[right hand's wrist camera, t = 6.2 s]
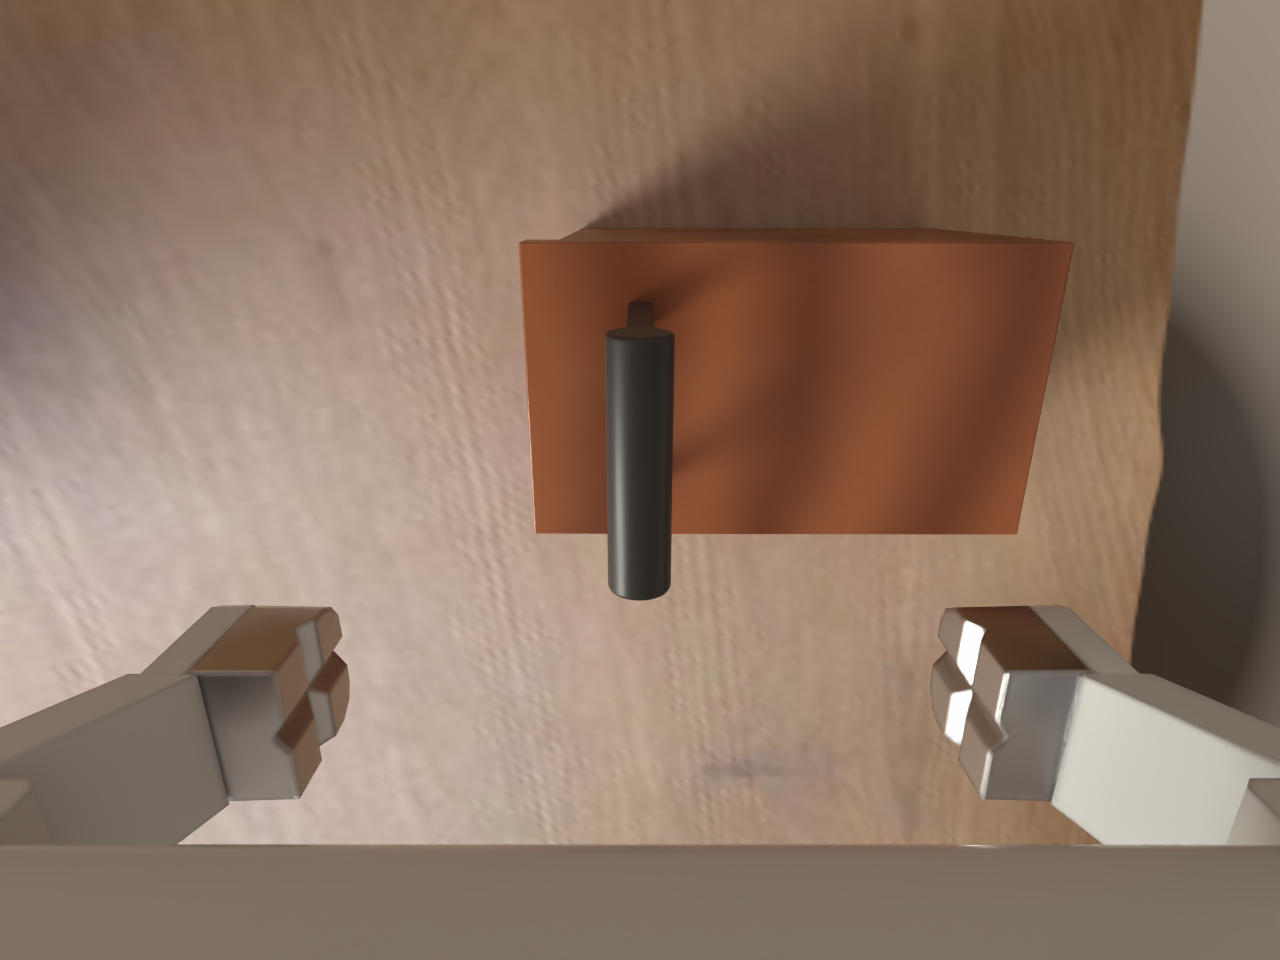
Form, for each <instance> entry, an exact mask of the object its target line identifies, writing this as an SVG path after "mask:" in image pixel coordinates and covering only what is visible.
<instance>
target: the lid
mask: <svg viewBox="0 0 1280 960" xmlns="http://www.w3.org/2000/svg"><path fill="white" fill-rule="evenodd" d="M1073 247H1074V243H1072V242H1065V241H1055V240H525V241H522V242H519V256H520V274H521V293H522V311H523V329H524V348H525V366H526V385H527V403H528V421H529V440H530V458H531V476H532V495H533V513H534V532H535V533H536V534H608V585H609V587H610V589H611V591H612V592H613V593H614V594H615V595H617V596H619V597H622V598H625V599H629V600H650V599H654V598H657V597H660V596H662V595H664V594H665V593H666V592H667V591H668V589H669V587H670V585H671V534H1017V530H1018V525H1019V520H1020V515H1021V509H1022V504H1023V499H1024V494H1025V489H1026V484H1027V479H1028V474H1029V469H1030V464H1031V459H1032V454H1033V449H1034V444H1035V439H1036V434H1037V429H1038V424H1039V418H1040V413H1041V408H1042V403H1043V398H1044V393H1045V388H1046V383H1047V378H1048V373H1049V368H1050V363H1051V358H1052V353H1053V348H1054V343H1055V338H1056V333H1057V327H1058V322H1059V317H1060V312H1061V307H1062V302H1063V297H1064V292H1065V287H1066V282H1067V277H1068V272H1069V267H1070V262H1071V257H1072V252H1073Z"/></svg>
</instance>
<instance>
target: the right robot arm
mask: <svg viewBox="0 0 1280 960" xmlns="http://www.w3.org/2000/svg"><path fill="white" fill-rule="evenodd" d="M341 638H342V632H341V627H340V622H339V617H338V614H337V613H336V612H335V611H334V610H333V609H332V608H331V607H300V606H254V605H231V606H217V607H211V608H210V609H209V610H208V611H207V612H206V613H205V614H204V615H203V616H202V617H201V618H200V619H199V620H197V621H196V622H195V623H194V624H193V625H192V626H191V627H190V628H189V629H188V630H187V631H186V632H185V633H184V634H183V635H181V636H180V637H179V638H178V639H177V640H176V641H175V642H174V643H173V644H172V645H171V646H170V647H169V648H168V649H167V650H165V651H164V652H163V653H162V654H161V655H160V656H159V657H158V658H157V659H156V660H155V661H154V662H153V663H152V664H151V665H149V666H148V667H147V668H146V669H145V670H144V671H143V672H142V673H141V674H127V675H124V676H122V677H119V678H117V679H115V680H112V681H110V682H108V683H105V684H103V685H101V686H98V687H96V688H93V689H91V690H89V691H86V692H84V693H82V694H79V695H77V696H74V697H72V698H70V699H67V700H65V701H63V702H60V703H58V704H56V705H53V706H51V707H48V708H46V709H44V710H41V711H39V712H37V713H34V714H32V715H29V716H27V717H25V718H22V719H20V720H18V721H15V722H13V723H11V724H8V725H6V726H3V727H1V728H0V960H1280V728H1279V727H1276V726H1274V725H1272V724H1269V723H1267V722H1264V721H1262V720H1260V719H1257V718H1255V717H1253V716H1250V715H1248V714H1246V713H1243V712H1241V711H1238V710H1236V709H1234V708H1231V707H1229V706H1227V705H1224V704H1222V703H1220V702H1217V701H1215V700H1212V699H1210V698H1208V697H1205V696H1203V695H1201V694H1198V693H1196V692H1194V691H1191V690H1189V689H1186V688H1184V687H1182V686H1179V685H1177V684H1175V683H1172V682H1170V681H1168V680H1165V679H1163V678H1161V677H1158V676H1156V675H1153V674H1139V673H1138V672H1137V671H1136V670H1135V669H1134V668H1133V667H1132V666H1131V665H1130V664H1128V663H1127V662H1126V661H1125V660H1124V659H1123V658H1122V657H1121V656H1120V655H1119V654H1118V653H1117V652H1116V651H1115V650H1114V649H1113V648H1111V647H1110V646H1109V645H1108V644H1107V643H1106V642H1105V641H1104V640H1103V639H1102V638H1101V637H1100V636H1099V635H1098V634H1097V633H1096V632H1094V631H1093V630H1092V629H1091V628H1090V627H1089V626H1088V625H1087V624H1086V623H1085V622H1084V621H1083V620H1082V619H1081V618H1080V617H1078V616H1077V615H1076V614H1075V613H1074V612H1073V611H1072V610H1071V609H1070V608H1068V607H1065V606H1061V605H1042V606H1002V607H962V608H948V609H945V611H944V614H943V616H942V618H941V620H940V626H939V631H938V638H939V639H940V641H941V642H942V644H943V645H944V647H945V648H946V650H947V651H946V652H945V653H944V654H943V655H942V656H941V657H940V658H939V659H938V660H937V661H936V662H935V663H934V664H933V668H932V676H931V684H930V690H931V700H932V708H933V711H934V714H935V718H936V721H937V723H938V725H939V727H940V729H941V731H942V732H943V734H944V736H946V737H947V738H949V739H950V740H952V741H953V742H955V743H957V744H958V745H960V746H961V747H960V753H959V758H958V761H959V762H960V764H961V766H962V768H963V769H964V771H965V773H966V775H967V776H968V778H969V780H970V781H971V783H972V785H973V787H974V788H975V790H976V792H977V794H978V795H979V797H980V799H996V800H1033V801H1051V805H1053V806H1054V807H1055V808H1057V809H1058V810H1059V811H1061V812H1062V813H1063V814H1064V815H1066V816H1067V817H1068V818H1070V819H1071V820H1072V821H1074V822H1075V823H1076V824H1078V825H1079V826H1080V827H1081V828H1083V829H1084V830H1085V831H1087V832H1088V833H1089V834H1091V835H1092V836H1093V837H1095V838H1096V839H1097V840H1098V841H1100V842H1101V843H1102V844H1104V845H177V844H178V843H179V842H181V841H182V840H183V839H184V838H186V837H187V836H188V835H190V834H191V833H192V832H194V831H195V830H196V829H198V828H199V827H200V826H201V825H203V824H204V823H205V822H207V821H208V820H209V819H211V818H212V817H213V816H215V815H216V814H217V813H218V812H220V811H221V810H222V809H224V808H225V807H226V806H228V805H229V802H228V801H247V800H282V799H300V797H301V795H302V794H303V792H304V790H305V789H306V787H307V785H308V783H309V782H310V780H311V778H312V776H313V775H314V773H315V771H316V769H317V768H318V766H319V764H320V762H321V761H322V758H321V752H320V747H319V746H320V745H322V744H324V743H325V742H327V741H328V740H330V739H331V738H333V737H334V736H336V734H337V732H338V730H339V729H340V727H341V725H342V723H343V721H344V718H345V714H346V710H347V706H348V702H349V674H348V668H347V664H346V663H345V662H344V661H343V660H342V659H341V658H340V657H339V656H338V655H337V654H336V653H335V652H334V651H333V650H334V648H335V647H336V645H337V644H338V642H339V641H340V639H341Z"/></svg>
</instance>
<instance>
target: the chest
mask: <svg viewBox="0 0 1280 960" xmlns="http://www.w3.org/2000/svg"><path fill="white" fill-rule="evenodd" d="M560 240H1043V239H1033V238H1023V237H1013V236H1003V235H993V234H982V233H972V232H962V231H952V230H942V229H716V228H582V229H580V230H579V231H577V232H575V233H573V234H571V235H569V236H566V237H564V238H562V239H560Z"/></svg>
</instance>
